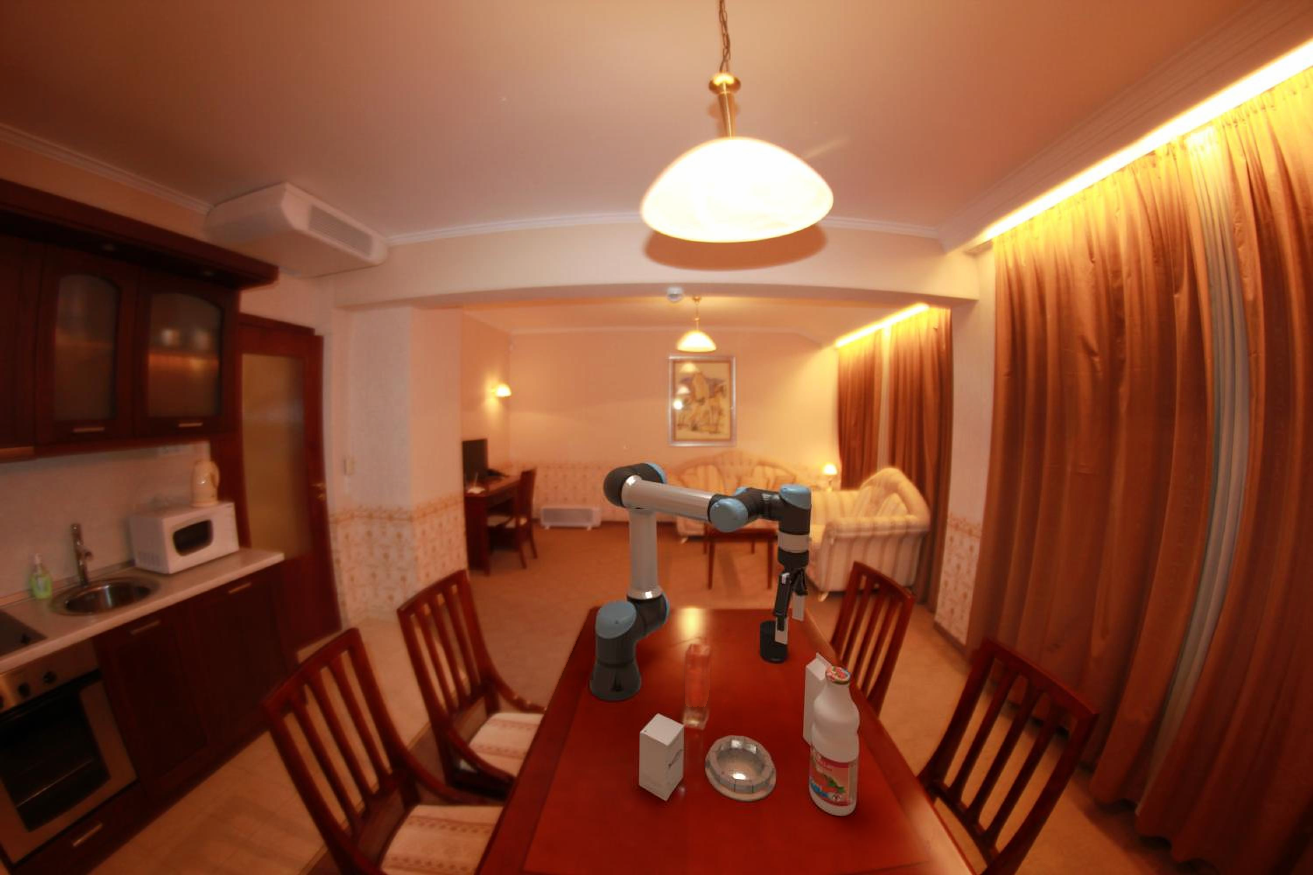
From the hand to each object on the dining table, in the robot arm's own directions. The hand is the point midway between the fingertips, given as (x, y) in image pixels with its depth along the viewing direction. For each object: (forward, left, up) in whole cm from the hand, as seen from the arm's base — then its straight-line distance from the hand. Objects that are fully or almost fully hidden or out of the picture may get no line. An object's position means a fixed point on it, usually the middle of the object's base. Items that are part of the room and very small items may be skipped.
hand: (789, 630), depth 111 cm
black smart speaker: (-15, +31, -27) cm, 44 cm away
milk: (+8, +1, -27) cm, 29 cm away
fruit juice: (+14, -13, -27) cm, 33 cm away
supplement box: (-18, -31, -27) cm, 45 cm away
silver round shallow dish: (-5, -18, -27) cm, 33 cm away
